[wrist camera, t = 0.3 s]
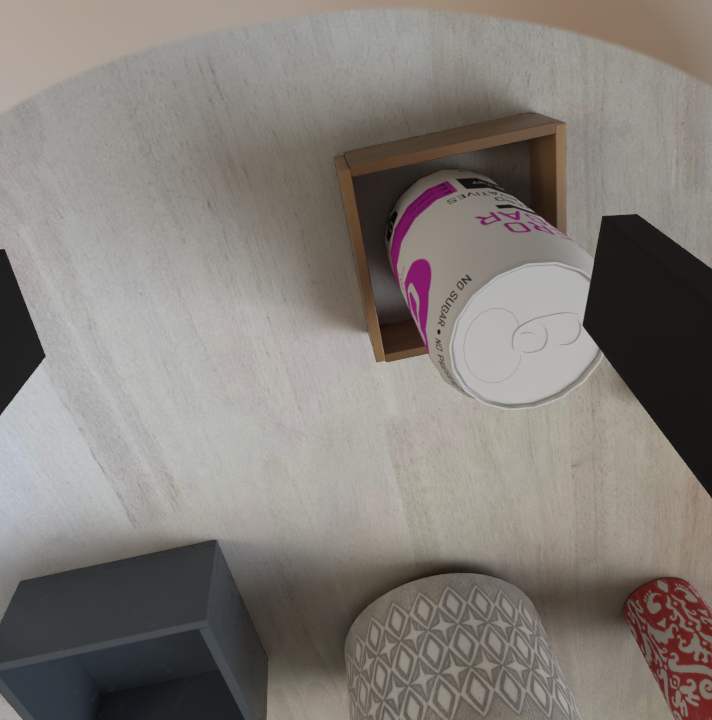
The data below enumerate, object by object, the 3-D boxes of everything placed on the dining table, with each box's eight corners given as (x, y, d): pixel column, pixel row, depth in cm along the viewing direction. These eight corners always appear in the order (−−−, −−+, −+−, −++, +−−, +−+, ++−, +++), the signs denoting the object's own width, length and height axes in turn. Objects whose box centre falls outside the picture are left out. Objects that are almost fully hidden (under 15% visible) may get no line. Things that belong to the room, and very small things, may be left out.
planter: (502, 531, 52) (571, 692, 39) (552, 647, 61) (621, 808, 48) (310, 605, 54) (317, 780, 41) (386, 706, 63) (410, 874, 50)
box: (333, 154, 35) (338, 168, 31) (538, 110, 35) (566, 119, 31) (369, 336, 41) (376, 364, 37) (543, 298, 41) (567, 324, 37)
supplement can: (395, 304, 40) (447, 439, 27) (373, 182, 36) (422, 272, 23) (513, 277, 40) (623, 399, 27) (504, 152, 36) (630, 224, 23)
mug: (611, 583, 57) (696, 728, 45) (704, 560, 56) (814, 700, 45) (613, 659, 63) (688, 804, 51) (697, 639, 63) (791, 779, 51)
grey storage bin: (19, 581, 49) (-22, 668, 42) (216, 539, 48) (205, 619, 42) (100, 694, 57) (75, 782, 50) (268, 659, 57) (266, 741, 50)
